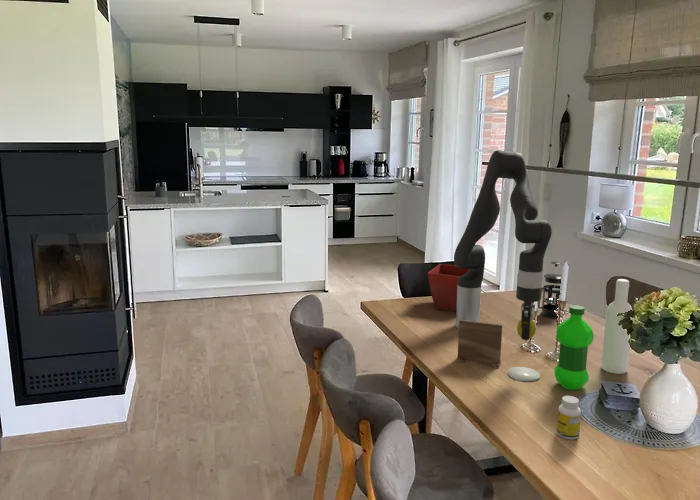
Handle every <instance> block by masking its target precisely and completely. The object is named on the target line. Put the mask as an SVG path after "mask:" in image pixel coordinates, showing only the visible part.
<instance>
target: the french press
mask: <svg viewBox="0 0 700 500" xmlns="http://www.w3.org/2000/svg"><path fill="white" fill-rule="evenodd" d="M550 263H551V264H552V265H554V267H555V271H554V273H546V274H543V278H544V282H546V283H550V284H546V285H542V299H541V300H542V301H541V300H540V301H537V306H538V307H537V308H538V309H540V311H541V312H540V315H541V316H543V317H545V318H550V319H559V318H558V316H557V314H556V313H555V312H554V310H556V309H557V308H558V304H557V299H558V298H559V295H560V296H561V293H560V290H561V289H560V286H561V276H562V275H563V274H559V273H557V267H558V265H562V264H563V263H562V262H560V261H551V262H550ZM557 284H558V285H557ZM557 289H558V290H557ZM546 293H547V297H546ZM541 303H542V304H541ZM545 303H546V304H545ZM540 304H541V306H540Z"/></svg>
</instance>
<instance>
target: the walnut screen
mask: <svg viewBox="0 0 700 500" xmlns="http://www.w3.org/2000/svg"><path fill="white" fill-rule="evenodd" d="M502 337H503V324H501V323H500V324H499V323H493V322H485V321H480V322H477V321H469V320H461V319H460V320H459V329H458V339H457V341H458V342H457V358H456V359H455V362H456V363H460V364H461V363H463V362H470V363H477V364H483V365H491V366H492V368H496V369H500V366H501V362H502V358H501V355H502V354H501V353H502V342H503V341H502V340H503V338H502Z"/></svg>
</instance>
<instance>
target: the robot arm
mask: <svg viewBox="0 0 700 500" xmlns="http://www.w3.org/2000/svg"><path fill="white" fill-rule="evenodd" d="M484 173H485V174H484V178H483V181H482V184H481V187H480V191H479V193H478V196H477V198H476V201H475V203H474V205H473V208H472V211H471V213H470V217H469V220H468V222H467V225H466V228H465V230H464V232H463V235H461V238H460V240H459V242H458V244H457V246H456V247H455V250H454V255H453V262H454V265H455V266H456V267H457V268H459V269H469V271H468V272H467V273H466V274H464V275H462V276H460V277H459V278H458V285H457V309H456V311H455V313H456V314H455V327H456V328H457V330H459V320H460V319H461V320H469V321H477V322H481V306H482V305H481V301H482V286H483V285H482V283H483V281H484V275H485V263H486V251H485V249H484V247H483V246H482V245H481V244H477V243H478V242H479V241H480V240H481V239H482V238H483V237H484V236H485V235H486V234H488V233H489V232H490V231H491V230H492V229H493V228H494V226H495V224H496V222H497V220H498V217H499V215H500V212H501V204H500V201H499V198H498V195H497V192H496V184H497V180H498V179H504V180H505V179H507V180H513V181H514V183H515V186H514V188H513V189H512V192H511V194H510V198H509V201H510V207H511V209H512V213H513V216H514V222H515V223H514V236H515V239H516V240H517V241H518V242H519V243H521V244H534V245H533V246H532V248H528V249H525V250H522V251H521V252H520V253H519V259H518V271H517V278H516V293H515V297H516V299H518V301H523V302H522V303H521V305H520V311H521V312H520V313H521V314H520V320H522V322H521V328H522V338H521V340H524V341H525V340H527V341H529V340H530V339H529V332H530V328H531V326H530V323H531V321H532V320H533V318H534V316H535V310H536V302H537V303H538V301H540V302H541V300H542V299H543V289H542V288H543V283H544V274H543V269H544V259H545V255H546V252H547V248H548V246H549V243H550V240H551V237H552V234H553V232H552V226H551V224H550V222H549V221H548V220H545V219H537V217H538V216H539V215H538V214H539V211H538V207H537V206H536V203H535V200H534V198H533V195H532V192H531V189H530V183H529V177H528V176H529V175H528V169H527V165H526V161H525V158H524V156H523V155H522V154H521V153H520V152H518V151H508V150H494V152H493V153H491V155H490V157H489V160H488V164H487V167H486V171H485V172H484ZM524 321H526V322H528V324H524ZM533 321H534V320H533Z"/></svg>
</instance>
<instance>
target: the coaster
mask: <svg viewBox="0 0 700 500" xmlns="http://www.w3.org/2000/svg"><path fill="white" fill-rule="evenodd" d="M506 374H507V376H508V377H509V378H511V379H513V380H515V381H520V382H536V381H538V380H540V378H541V374H540V372H538V370H536V369H533V368H530V367H525V366H514V367H510V368H508V369H507V372H506Z"/></svg>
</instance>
